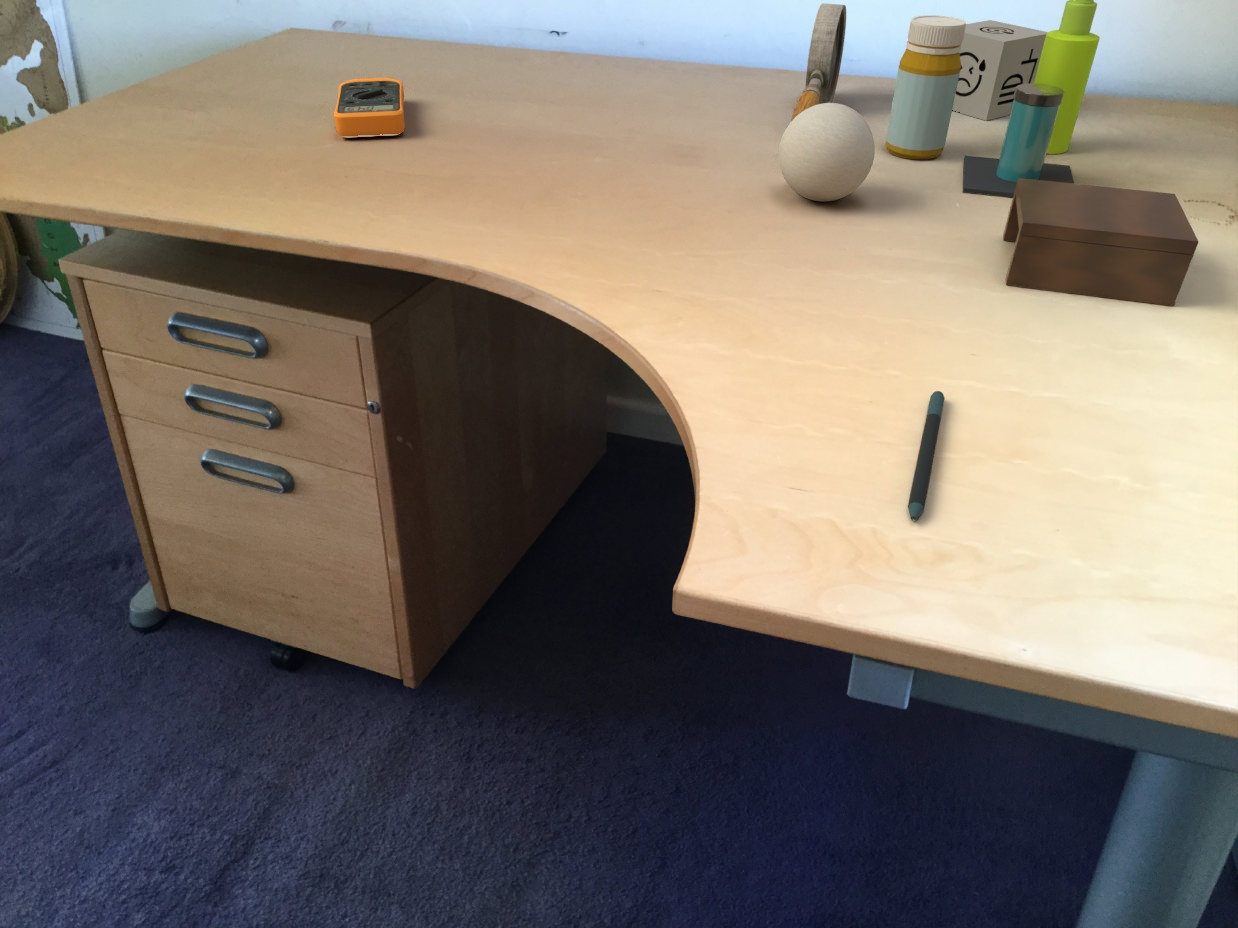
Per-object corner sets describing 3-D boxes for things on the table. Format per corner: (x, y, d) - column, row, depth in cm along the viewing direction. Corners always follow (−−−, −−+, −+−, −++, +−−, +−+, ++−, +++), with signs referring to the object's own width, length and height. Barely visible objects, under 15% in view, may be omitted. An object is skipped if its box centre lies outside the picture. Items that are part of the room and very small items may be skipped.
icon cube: (1032, 109, 132) (1051, 33, 126) (986, 120, 128) (1004, 42, 122) (974, 93, 139) (990, 20, 133) (928, 103, 134) (943, 28, 129)
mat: (1068, 169, 112) (1069, 165, 111) (1077, 204, 102) (1078, 200, 102) (963, 159, 114) (964, 155, 114) (962, 192, 105) (963, 188, 105)
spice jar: (1039, 171, 109) (1062, 85, 104) (1041, 185, 106) (1066, 97, 100) (994, 167, 111) (1015, 82, 105) (995, 181, 107) (1016, 93, 101)
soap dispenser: (1061, 159, 115) (1112, -23, 103) (1009, 146, 119) (1053, -31, 107) (1084, 149, 118) (1137, -29, 106) (1033, 136, 122) (1078, -36, 110)
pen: (902, 526, 58) (906, 512, 57) (929, 400, 70) (932, 386, 69) (920, 531, 58) (924, 516, 57) (943, 403, 70) (947, 389, 69)
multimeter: (405, 100, 134) (402, 75, 132) (406, 138, 120) (402, 110, 118) (343, 103, 132) (339, 77, 130) (337, 142, 118) (332, 114, 116)
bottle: (873, 147, 118) (894, 17, 109) (918, 140, 120) (943, 13, 112) (907, 164, 113) (933, 29, 104) (954, 157, 115) (983, 24, 106)
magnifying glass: (814, 84, 114) (849, -13, 128) (789, 82, 115) (827, -14, 129) (807, 176, 124) (840, 77, 138) (784, 173, 125) (819, 75, 139)
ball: (764, 207, 101) (773, 111, 95) (785, 178, 108) (796, 88, 103) (857, 221, 98) (873, 123, 92) (873, 190, 106) (889, 97, 100)
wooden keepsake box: (1153, 253, 92) (1175, 193, 88) (1173, 306, 82) (1199, 241, 79) (1002, 236, 95) (1017, 177, 91) (1005, 285, 86) (1022, 222, 82)
